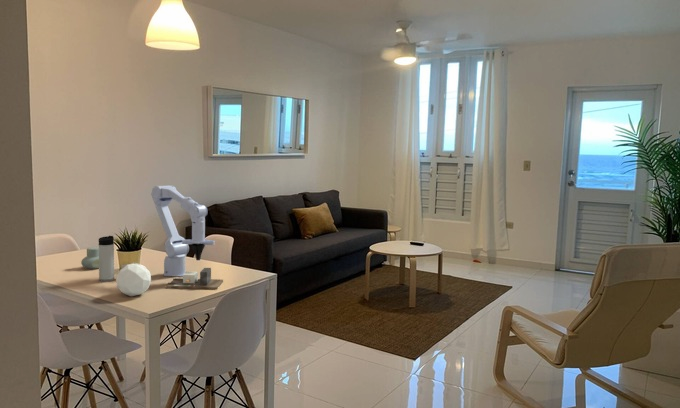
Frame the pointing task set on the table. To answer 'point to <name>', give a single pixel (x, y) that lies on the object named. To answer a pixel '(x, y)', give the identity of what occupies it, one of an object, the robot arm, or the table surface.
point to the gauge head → (190, 277)
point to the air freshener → (91, 258)
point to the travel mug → (106, 259)
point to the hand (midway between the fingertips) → (198, 259)
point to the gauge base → (202, 283)
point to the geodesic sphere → (133, 279)
